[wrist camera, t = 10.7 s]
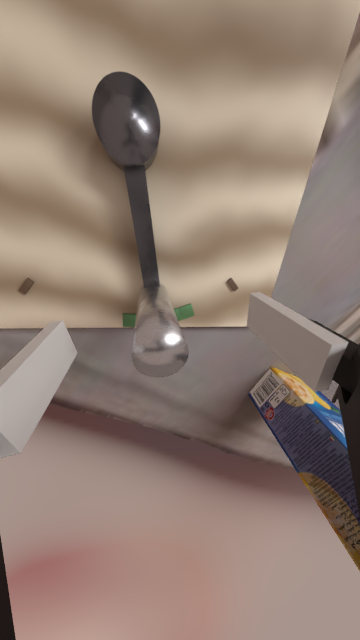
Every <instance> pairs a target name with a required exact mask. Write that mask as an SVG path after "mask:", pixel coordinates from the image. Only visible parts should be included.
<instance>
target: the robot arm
mask: <svg viewBox="0 0 360 640" xmlns="http://www.w3.org/2000/svg"><path fill="white" fill-rule="evenodd" d="M247 326H248V327H249V328H250V329H251V330H252V331H253V332H254V333H255V334H256V335H257V336H258V337H259V338H260V339H261V340H262V341H263V342H264V343H265V344H266V345H267V346H268V347H269V348H270V349H271V350H272V351H273V352H274V353H275V354H276V355H277V356H278V357H279V358H280V359H281V360H282V361H283V362H284V363H285V364H286V365H287V366H288V367H289V368H290V369H291V370H292V371H293V372H294V373H295V374H296V375H297V376H298V377H299V378H300V379H301V380H302V381H303V382H304V383H305V384H306V385H308V386H309V387H310V388H311V389H312V390H313V391H314V392H316V391H321V390H326V389H329V386H330V384H331V382H332V379H333V380H334V381H335V382H336V383H338V384H339V386H338V388H337V390H336V392H335V394H334V397H333V399H332V402H333V403H335V402H336V399H338V400H339V405H340V411H341V416H342V422H343V427H344V433H345V438H346V444H347V449H348V455H349V461H350V466H351V472H352V477H353V483H354V488H355V494H356V499H357V505H358V510H359V516H360V345H358V344H356V343H354V342H352V341H351V340H349V339H347V338H345V337H343V336H342V335H340V334H338V333H336V332H334V331H332V330H331V329H329V328H327V327H325V326H323V325H322V324H320V323H318V322H316V321H313V320H310V319H307V318H305V317H303V316H302V315H300V314H298V313H296V312H294V311H293V310H291V309H289V308H287V307H286V306H284V305H282V304H280V303H279V302H277V301H275V300H273V299H272V298H270V297H268V296H266V295H264V294H263V293H261V292H255V293H250V298H249V308H248V318H247ZM76 355H77V351H76V348H75V346H74V344H73V342H72V340H71V337H70V335H69V333H68V331H67V328H66V326H65V324H64V322H63V320H61V321H54V322H50V323H49V324H48V325H47V326H46V327H45V328H44V329H43V330H42V331H41V332H40V333H39V334H38V335H36V336H35V337H34V338H33V339H32V340H31V341H30V342H29V343H28V344H27V345H26V346H25V347H24V348H23V349H22V350H21V351H20V352H19V353H18V354H17V355H16V356H15V357H14V358H12V359H11V360H10V361H9V362H8V363H7V364H6V365H5V366H4V367H3V368H2V369H1V370H0V458H2V457H7V456H12V455H16V454H21V453H22V451H23V449H24V447H25V446H26V444H27V442H28V440H29V438H30V437H31V435H32V433H33V431H34V430H35V428H36V426H37V424H38V422H39V421H40V419H41V417H42V415H43V414H44V412H45V410H46V408H47V406H48V405H49V403H50V401H51V399H52V398H53V396H54V394H55V392H56V391H57V389H58V387H59V385H60V384H61V382H62V380H63V378H64V376H65V375H66V373H67V371H68V369H69V368H70V366H71V364H72V362H73V361H74V359H75V357H76ZM0 640H16V639H15V632H14V625H13V619H12V613H11V605H10V598H9V592H8V584H7V577H6V572H5V564H4V557H3V550H2V543H1V537H0Z"/></svg>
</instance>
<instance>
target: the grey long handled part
mask: <svg viewBox="0 0 360 640" xmlns="http://www.w3.org/2000/svg"><path fill="white" fill-rule="evenodd" d="M92 118H93V123H94V127H95V130H96V133H97V135H98V137H99V139H100V141H101V143H102V145H103V147H104V149H105V151H106V153H107V155H108V157H109V158H110V160H111V161H112V162H113V163H114V164H115V165H116V166H117V167H118V168H120V169H121V170H123V171H124V172H125V178H126V184H127V190H128V196H129V202H130V208H131V214H132V220H133V225H134V231H135V237H136V243H137V249H138V255H139V261H140V267H141V273H142V278H143V284H144V285H143V286H142V287H141V288H140V291H139V297H138V305H137V314H136V323H135V331H134V340H133V348H132V361H133V364H134V366H135V367H136V369H137V370H138V371H140V372H141V373H143V374H145V375H147V376H150V377H165V376H169V375H172V374H174V373H175V372H177V371H178V370H180V369H181V368H182V367H183V366H184V364H185V363H186V361H187V358H188V347H187V344H186V341H185V339H184V336H183V333H182V330H181V328H180V325H179V322H178V319H177V317H176V314H175V311H174V308H173V306H172V303H171V300H170V297H169V295H168V292H167V290H166V288H165V286H164V285H163V284H161V283H160V282H159V274H158V266H157V258H156V250H155V243H154V235H153V227H152V219H151V211H150V204H149V196H148V188H147V180H146V172H145V170H147V169H148V168H149V167H150V166H151V165H152V163H153V162H154V160H155V158H156V155H157V151H158V144H159V137H160V116H159V111H158V108H157V105H156V102H155V100H154V97H153V96H152V94H151V92H150V91H149V89H148V88H147V87H146V85H145V84H144V83H143V82H142V81H141V80H140V79H138V78H137V77H135V76H134V75H132V74H130V73H127V72H121V71H118V72H112V73H110V74H108V75H106V76H105V77H104V78H102V80H101V81H100V82H99V83H98V85H97V87H96V89H95V91H94V95H93V99H92Z"/></svg>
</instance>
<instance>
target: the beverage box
mask: <svg viewBox="0 0 360 640" xmlns="http://www.w3.org/2000/svg"><path fill="white" fill-rule="evenodd" d="M248 395H249V397H250V398H251V400H252V401H253V403H254V405H255V406H256V408H257V409H258V411H259V412H260V414H261V416H262V417H263V419H264V420H265V422H266V424H267V425H268V427H269V428H270V430H271V431H272V433H273V435H274V436H275V438H276V439H277V441H278V442H279V444H280V446H281V447H282V449H283V450H284V452H285V454H286V455H287V457H288V458H289V460H290V461H291V463H292V465H293V466H294V468H295V469H296V471H297V473H298V474H299V476H300V477H301V479H302V480H303V482H304V484H305V485H306V487H307V488H308V490H309V491H310V493H311V495H312V496H313V498H314V499H315V501H316V502H317V504H318V506H319V507H320V509H321V510H322V512H323V514H324V515H325V517H326V518H327V520H328V521H329V523H330V524H331V526H332V528H333V529H334V531H335V533H336V534H337V535H338V537H339V539H340V540H341V542H342V544H343V545H344V547H345V548H346V550H347V551H348V553H349V555H350V556H351V558H352V559H353V561H354V562H355V564H356V566H357V567H358V569H359V570H360V516H359V510H358V505H357V499H356V494H355V488H354V483H353V477H352V472H351V466H350V461H349V455H348V449H347V444H346V438H345V433H344V427H343V422H342V416H341V411H340V409H339V408H337V407H336V406H335V405H334V404H333V403H332V402H331V401H330V400H329V399H328V398H326V397H325V396H324V395H323V394H322V393H321V392H320V391H316V392H314V391H313V390H312V389H311V388H310V387H309V386H308V385H306V384H305V383H304V382H303V381H302V380H301V379H300V378H298V377H296V376H293V375H291V374H288V373H286V372H283V371H281V370H278V369H276V368H274V367H270V369H269V370H268V371H267V372H266V373H265V374H264V376H263V377H262V378H261V379H260V380H259V381H258V383H257V384H256V385H255V386H254V387H253V388H252V390H251V391H250V392H249V393H248Z"/></svg>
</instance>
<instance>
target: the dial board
mask: <svg viewBox="0 0 360 640" xmlns="http://www.w3.org/2000/svg"><path fill="white" fill-rule="evenodd" d="M359 13H360V0H0V328H45V327H46V326H47V325H48V324H49V323H50V322H54V321H61V320H63V322H64V324H65V326H66V328H120V327H135V323H136V314H137V305H138V297H139V291H140V288H141V287H142V286H143V285H144V284H143V278H142V273H141V267H140V261H139V255H138V249H137V243H136V237H135V231H134V225H133V220H132V214H131V208H130V202H129V196H128V190H127V184H126V178H125V172H124V171H123V170H121V169H120V168H118V167H117V166H116V165H115V164H114V163H113V162H112V161H111V160H110V158H109V157H108V155H107V153H106V151H105V149H104V147H103V145H102V143H101V141H100V139H99V137H98V135H97V133H96V130H95V127H94V123H93V118H92V99H93V95H94V91H95V89H96V87H97V85H98V83H99V82H100V81H101V80H102V78H104V77H105V76H106V75H108V74H110V73H112V72H118V71H121V72H127V73H130V74H132V75H134V76H135V77H137V78H138V79H140V80H141V81H142V82H143V83H144V84H145V85H146V87H147V88H148V89H149V91H150V92H151V94H152V96H153V97H154V100H155V102H156V105H157V108H158V111H159V116H160V137H159V144H158V151H157V155H156V158H155V160H154V162H153V163H152V165H151V166H150V167H149V168H148V169H147V170H145V172H146V180H147V188H148V196H149V204H150V211H151V219H152V227H153V235H154V243H155V250H156V258H157V266H158V274H159V282H160V283H161V284H163V285H164V286H165V288H166V290H167V292H168V295H169V297H170V300H171V303H172V306H173V308H174V311H175V314H176V317H177V319H178V322H179V325H180V327H243V326H247V318H248V308H249V298H250V293H255V292H261V293H263V294H264V295H266V296H268V297H270V298H271V295H272V292H273V289H274V286H275V282H276V279H277V276H278V273H279V270H280V266H281V263H282V260H283V257H284V253H285V250H286V247H287V244H288V241H289V237H290V234H291V231H292V228H293V225H294V221H295V218H296V215H297V212H298V209H299V205H300V202H301V199H302V196H303V193H304V189H305V186H306V183H307V180H308V177H309V173H310V170H311V167H312V164H313V160H314V157H315V154H316V151H317V148H318V144H319V141H320V138H321V135H322V132H323V128H324V125H325V122H326V119H327V116H328V112H329V109H330V106H331V103H332V100H333V96H334V93H335V90H336V87H337V84H338V80H339V77H340V74H341V71H342V67H343V64H344V61H345V58H346V55H347V51H348V48H349V45H350V42H351V39H352V35H353V32H354V29H355V26H356V23H357V19H358V16H359Z"/></svg>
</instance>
